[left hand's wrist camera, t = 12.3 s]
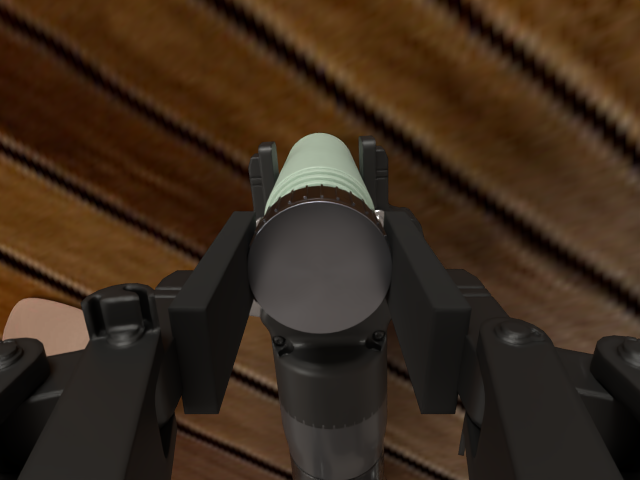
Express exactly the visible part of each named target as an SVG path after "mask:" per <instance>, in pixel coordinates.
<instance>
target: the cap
mask: <svg viewBox="0 0 640 480" xmlns="http://www.w3.org/2000/svg"><path fill="white" fill-rule="evenodd" d="M386 238H387V235H386V233H385V231H384V228H383V226H382V224H381V222H380V220H379V221H378V219H377V217H376V214H375V212H374V210H373V209H370V208H369V207H368V206H367V204H365V202H364V200H363V199H360V198H358V197H356V196H355V195H353V194H352V192H351V191H349V192H347V191H345V190H342V189H339V188H338V186H335V187H330V186H323V184H321V186H309V187H308V185H306V186H305V187H304V188H300V189H297V190H295V191H294V189H293V190H291V192H290V193H288V194H286V195H285V196H283V197H281V196H280V197H279V198H278V200H277V201H276V202H275V203H274V204H273V205H272V206H269V207H268V209H267V211H266V214H265V215H264V217H261V219H260V221H259V223H258V225H257V227H256V230H255V232H254V235H253V238H252V240H251V242H250V244H249V248H250V249H249V252H248V257H247V266H248V279H249V285H250V289H251V291H252V293H253V295H254V297H255V299H256V300H257V302H258V303H259V305H260V306H261V307H262V308H263V310H264V311H265V312H266V313H267V314H268V315H270V316H271V317H272V318H273V319H275V320H276V321H278V322H279V323H281V324H283V325H285V326H287V327H289V328H292V329H294V330H298V331H301V332H306V333H315V334H324V333H333V332H339V331H342V330H345V329H348V328H350V327H353V326H355V325H357V324H359V323H360V322H362V321H364V320H365V319H366V318H368V317H369V316H370V315H371V314H372V313H373V312H374V311H375V310H376V309H377V308H378V307H379V305H380V304H381V303H382V301H383V300H384V298H385V296H386V294H387V292H388V290H389V287H390V284H391V276H392V254H391V249H390V246H389V244H388V242H387V240H386Z"/></svg>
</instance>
